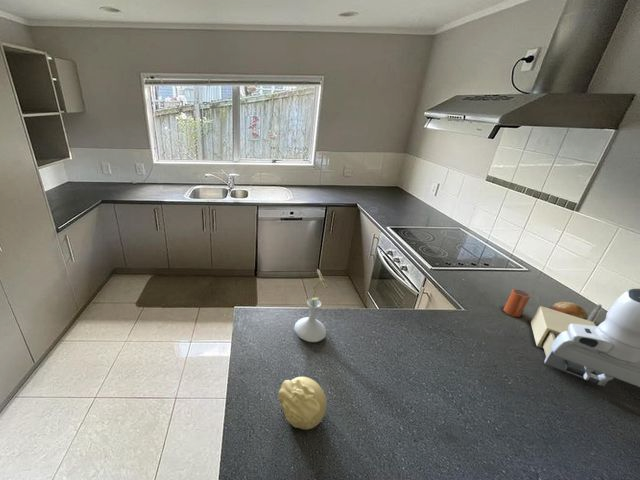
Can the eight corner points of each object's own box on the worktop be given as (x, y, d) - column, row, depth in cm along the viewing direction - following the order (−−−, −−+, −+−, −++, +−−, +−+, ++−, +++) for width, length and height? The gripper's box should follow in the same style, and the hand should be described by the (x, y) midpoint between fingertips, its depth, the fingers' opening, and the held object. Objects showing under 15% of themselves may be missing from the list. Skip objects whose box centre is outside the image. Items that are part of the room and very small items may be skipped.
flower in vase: (323, 349, 96) (334, 288, 86) (291, 339, 99) (298, 280, 90) (327, 323, 107) (337, 268, 98) (298, 316, 111) (304, 261, 101)
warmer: (595, 368, 93) (608, 348, 90) (536, 346, 101) (546, 327, 98) (582, 340, 105) (593, 322, 101) (530, 322, 113) (539, 305, 109)
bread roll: (577, 323, 118) (582, 305, 118) (591, 329, 109) (597, 309, 109) (546, 314, 123) (551, 297, 123) (557, 318, 114) (562, 300, 114)
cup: (519, 311, 119) (529, 292, 115) (521, 318, 115) (531, 298, 111) (502, 306, 122) (511, 287, 118) (503, 313, 118) (513, 293, 114)
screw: (585, 328, 111) (596, 337, 107) (571, 325, 112) (581, 334, 107) (602, 301, 106) (614, 309, 102) (587, 299, 107) (598, 307, 102)
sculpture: (270, 413, 75) (273, 385, 71) (297, 385, 83) (301, 359, 79) (305, 448, 67) (310, 419, 63) (331, 414, 75) (337, 386, 71)
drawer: (608, 397, 82) (621, 380, 80) (546, 372, 90) (556, 356, 87) (589, 356, 96) (600, 341, 94) (537, 337, 104) (545, 323, 101)
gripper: (673, 357, 71) (642, 394, 77) (562, 321, 82) (541, 355, 88) (687, 373, 67) (653, 412, 72) (567, 333, 78) (545, 369, 83)
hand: (591, 380), depth 80 cm, fingers closed
